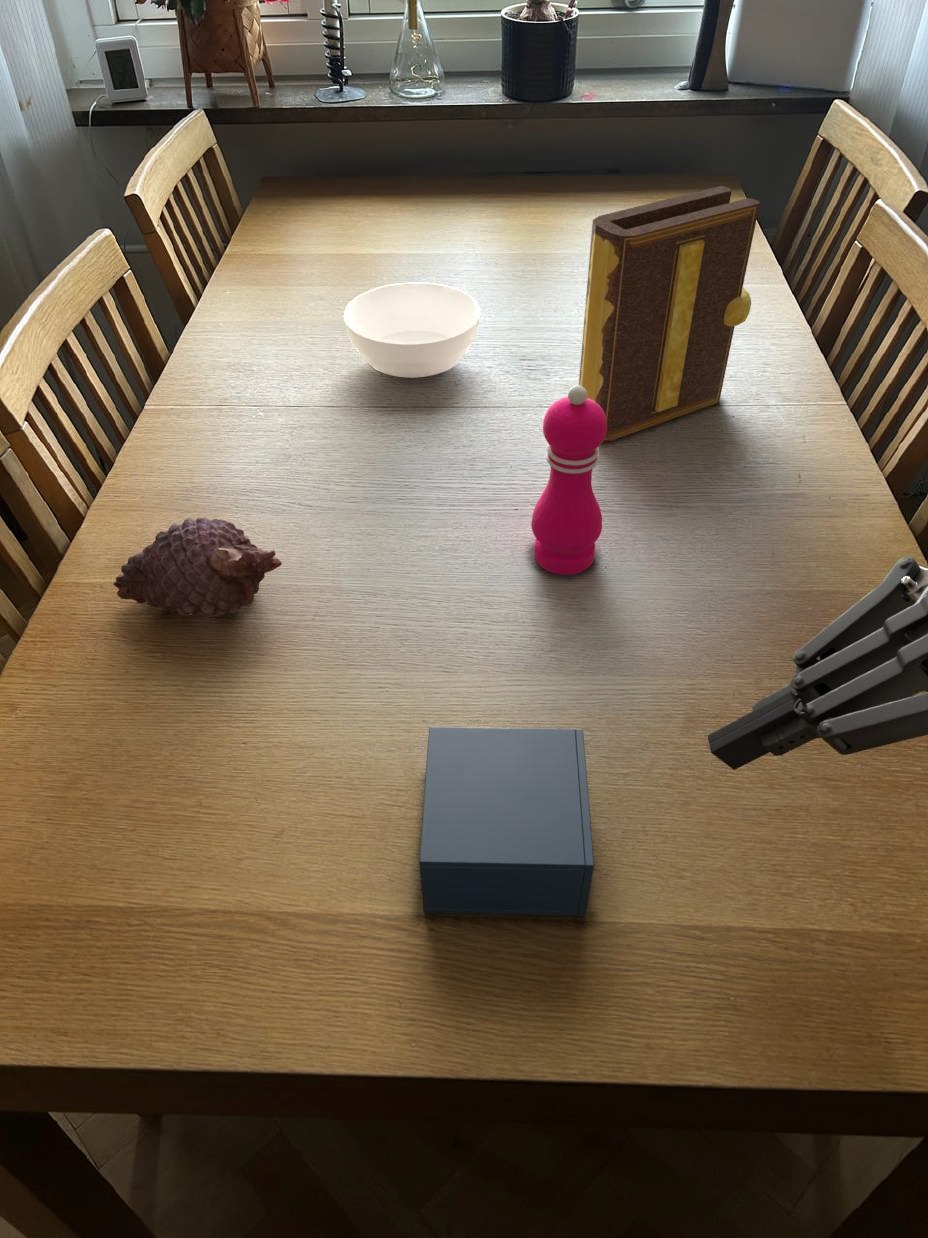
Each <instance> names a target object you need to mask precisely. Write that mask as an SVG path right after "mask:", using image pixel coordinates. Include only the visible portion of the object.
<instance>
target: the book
mask: <svg viewBox="0 0 928 1238" xmlns="http://www.w3.org/2000/svg"><path fill="white" fill-rule="evenodd" d="M732 191H733V189H731V188H730V187H727V186H724V185H719V186H715V187H711V188H706V189H702V190H699V191H695V192H690V193H687V194H683V195H680V196H675V197H670V198H666V199H663V200H662V199H661V200H658V201H655V202H650V203H646V204H642V205H638V206H634V207H630V208H626V209H622V210H618V211H614V212H610V213H605V214H602V215H601V214H600V215H598V216H596V217H595V218H594V219H592V224H591V236H590V247H589V258H588V271H587V280H586V281H587V284H586V293H585V294H586V295H585V304H584V305H585V307H584V317H583V330H582V341H581V342H582V343H581V352H580V366H579V377H578V385H579V386H582V387H584V388H585V389H586V391H587V398H589V399H591V400H593V401H595V402H596V403H597V404H598V405H599V406H600V407H601V408H602V410H603V411H604V413H605V416H606V420H607V432H606V436H605V439H604V441H603V442H602V443H607V442H613V441H617V440H619V439H621V438H624V437H628V436H629V435H632V434H636V433H638V432H641V431H644V430H647V429H649V428H652V427H655V426H658V425H661V424H664V423H667V422H669V421H672V420H674V419H678V418H681V417H683V416H686V415H688V414H692V413H695V412H697V411H700V410H703V409H705V408H708V407H712V406H714V405H717V404H719V403H720V399H721V396H722V391H723V386H724V381H725V375H726V370H727V365H728V360H729V356H730V350H731V346H732V341H733V337H734V333H735V327H737V326H739V325H741V324H743V323H744V322H746V320H747V319H748V316H749V314H750V312H751V307H752V297H751V294H750V293H749V292H748V291H747V290H746V289H745V287H744V283H745V277H746V273H747V268H748V263H749V257H750V253H751V249H752V245H753V244H752V243H753V239H754V234H755V229H756V225H757V218H758V216H759V215H758V214H759V209H760V204H761V203H760V201H759V200H757V199H754V198H751V197H747V198H744V199H739V200H735V201H732V202H731V197H732Z"/></svg>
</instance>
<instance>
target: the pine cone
mask: <svg viewBox="0 0 928 1238" xmlns="http://www.w3.org/2000/svg"><path fill="white" fill-rule="evenodd" d="M282 564H283V562H282V560H280V559H279V558H278V557H276V551H275V550H271V551H268V550H263V549H262V548H259V547H258V546H257V545H256V544H254V543H252V542H251V540H250V538H249V537H248V536H247V535H245V531H244V530H243V529H242V528H237V527H236V525H235V524H234V523H233V522H230V521H227V520H225V519H222V518H221V519H218V518H214V519H209V518H207V517H197V518H196V519H193V518H191V517H188V518H186V519H184V520H183V522H182V523H181V524H179V523H173V524H171V525H169V528H168V530H167V531H165V530H162V531H160V532H157V533H156V535H155V540H154V541H153V542H152V543H151V544H149V545H147V546H146V547H144V548H143V549H142V551H141V552H138V553H135V554H134V555H133V556H131V555H130V556H129V557H128V558H127V563H125V564H123V565H122V566H121V569H120V571H121V573H122V574H118V575H117V576H116V577H115V581H114V582H113V583H112V584H113V586H114V587H115V588H117V589H118V590H117V592H116V595H117V596H118V597H119V598H120V599H121V600H133V601H135V602H136V603H137V604H147V606H149V607H153V608H159V609H161V610H164V611H171V610H176V611H177V612H178V614H179V615H181V616H186V617H187V616H190V615H191V616H194V617H196V618H197V619H198V618H200V619H206V618H209V617H211V616H215V617H219V616H221V615H225V614H227V613H228V614H235V613H237V612H238V611H240V610H241V608H242V607H246V606H247V605H248V606H249V605H251V604H252V603H253V602H254V597H255V595H256V594H258V592H259V590H260V583H261V582H262V581H263V580H264V579H265V577H266V576H265V575H266V573H270V572H272V571H274V570H276V569H278V568H279V567H281V566H282Z"/></svg>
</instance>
